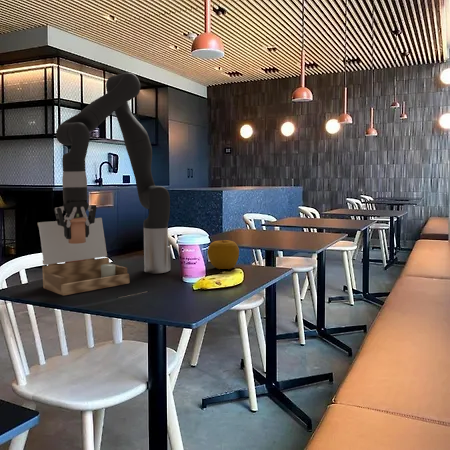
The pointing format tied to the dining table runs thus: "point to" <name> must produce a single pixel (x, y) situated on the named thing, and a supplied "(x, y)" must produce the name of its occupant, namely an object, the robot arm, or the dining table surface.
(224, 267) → the apple
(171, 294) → the dining table surface
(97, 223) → the lid
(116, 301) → the dining table surface
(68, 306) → the dining table surface
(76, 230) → the terracotta pot
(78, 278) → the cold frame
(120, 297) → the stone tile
